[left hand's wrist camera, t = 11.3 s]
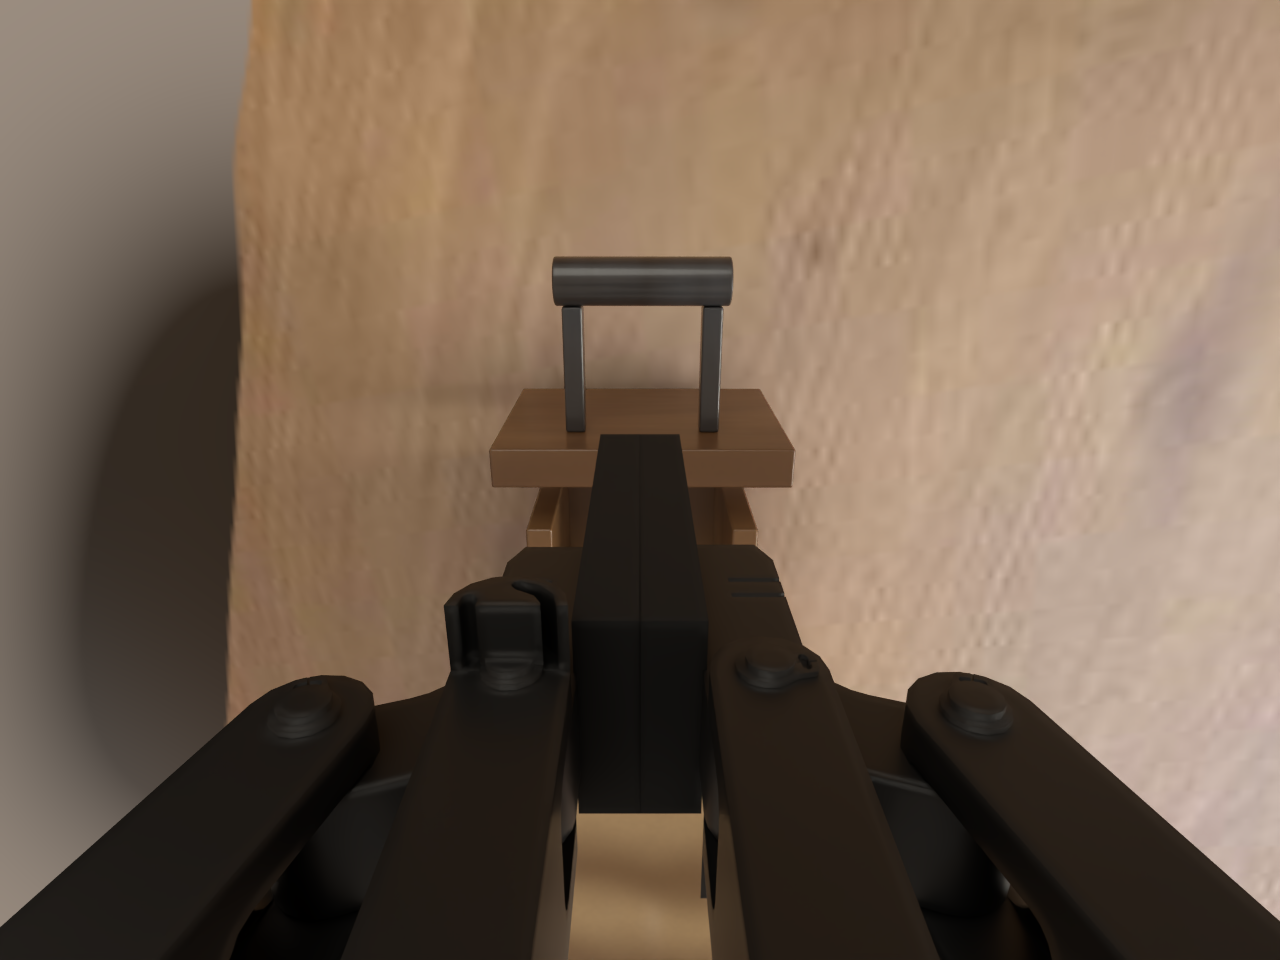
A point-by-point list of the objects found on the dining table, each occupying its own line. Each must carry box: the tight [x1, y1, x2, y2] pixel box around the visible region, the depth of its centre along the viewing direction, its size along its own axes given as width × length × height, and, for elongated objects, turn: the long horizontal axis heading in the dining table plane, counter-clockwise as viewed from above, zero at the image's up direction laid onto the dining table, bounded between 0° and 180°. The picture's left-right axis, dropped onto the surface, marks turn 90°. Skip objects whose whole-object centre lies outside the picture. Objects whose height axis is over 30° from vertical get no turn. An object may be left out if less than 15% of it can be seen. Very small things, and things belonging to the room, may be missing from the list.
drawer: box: [489, 257, 795, 547], centre depth 28 cm, size 25×9×7 cm, turn 0°
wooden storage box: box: [568, 801, 712, 960], centre depth 32 cm, size 21×10×9 cm, turn 0°
